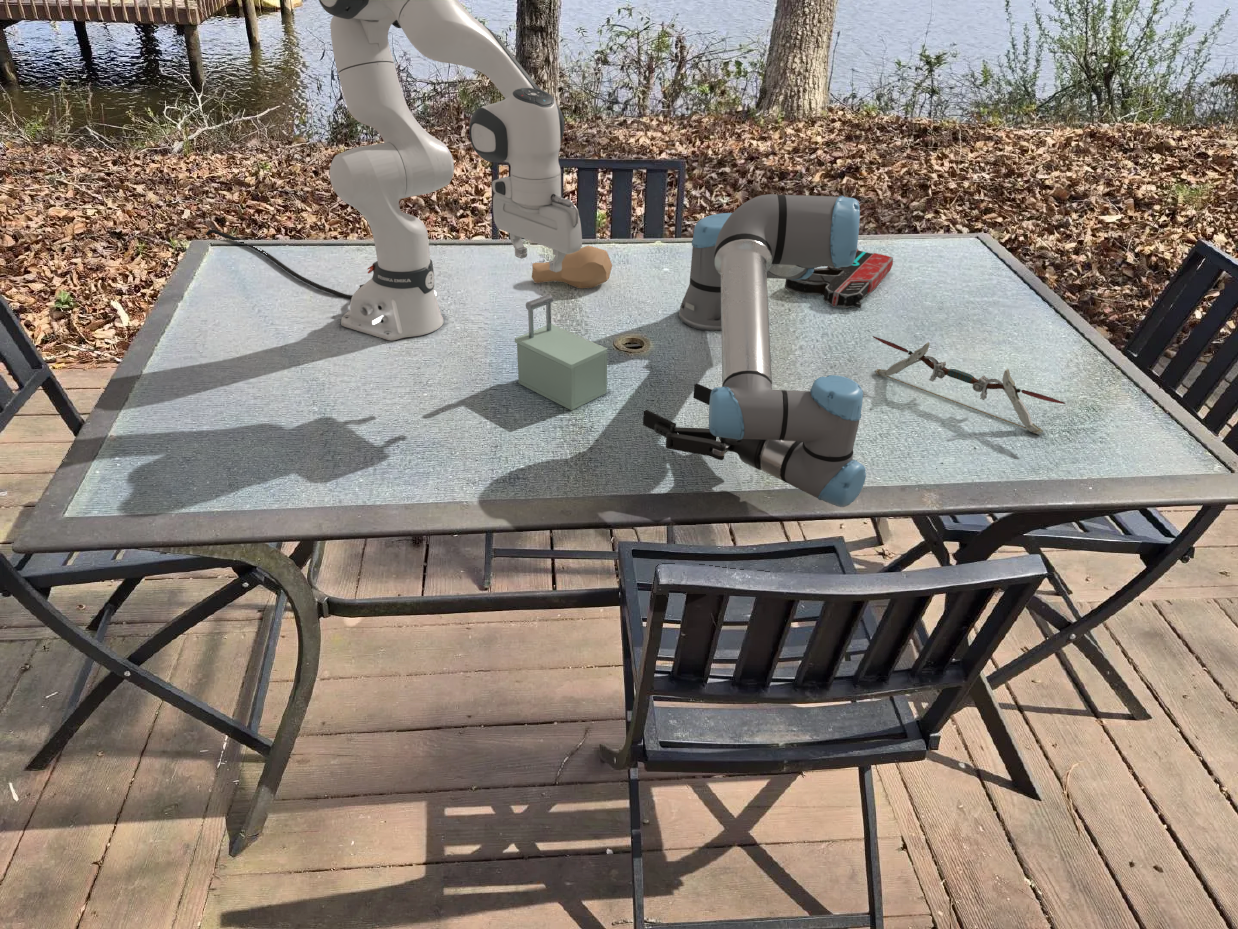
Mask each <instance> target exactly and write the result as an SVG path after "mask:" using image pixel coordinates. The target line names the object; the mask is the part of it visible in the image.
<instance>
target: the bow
mask: <svg viewBox="0 0 1238 929" xmlns="http://www.w3.org/2000/svg"><path fill="white" fill-rule="evenodd" d="M872 338H873V339H874V340H877V341H879V342H880V343H882V344H884V345H886V346H889V347H890V348H893V349H895V350H897V351H898V350H899V351H901V352H904V353H906V354H908V355H909V356H908V357H907V358H904V359H903V358H902V359H901V360H900V361H897V362H896V363H893V364H892V365H891V366H889V367H888V369H881V368H876V369H875V370H874V373H875V374H876V375H878V376H879V377H882V378H883V377H884V378H885V377H886V378H889V379H890V380H891V379H892V380H894V381H896V382H899V383H902V384H905V385H907V386H910V387H912V388H916V389H919V390H921V391H923V392H927V393H929V394H932V395H934V396H937V397H939V398H943V399H945V400H949V401H950V402H952V403H953V402H954V403H956V404H959V405H961V406H964V407H967V408H969V409H973V410H974V411H978V412H980V413H983V414H985V415H988V416H991V417H993V418H996V419H999V420H1002V421H1005V422H1007V423H1010V424H1012V425H1015V426H1017V427H1021V428H1023V429H1026V430H1027V431H1028V432H1030V433H1033V434H1034V435H1035V434H1037V435H1042V433H1044V429H1042V427H1039V426H1038V425H1036V424H1035V423H1034V422H1033V421H1032V418H1031V415H1030V412H1029V410H1028V409H1027V407H1026V405H1025V404H1024V402H1023V400H1022V399H1021V398H1020V395H1019V393H1020V392H1021V394H1024V395H1027V396H1030V397H1032V398H1035V399H1039V400H1043V401H1047V402H1050V403H1056V404H1062V405H1065V404H1066V402H1065V401H1061V400H1059V399H1056V398H1054V397H1050V396H1047V395H1045V394H1041V393H1037V392H1033V391H1030V390H1026V389H1021V388H1017V387H1016V383H1015V381H1014V380H1013V378H1012V377H1011V373H1010V372H1011V371H1010V369H1008V368H1006V369H1005V370H1004V371H1003V376H1002V379H1001V380H999V379H997V378H988V377H987V376H986V375H982V376H981V377H980V378H976V377H975V376H973V375H972V374H970V373H968V372H965V371H963V370H959V369H957V368H947V367H946V366H947V362H946V361H940V362H939V361H938V359H936V358H935V357H933V356H931V355H926V354H927V353H928V351H929V348H930V344H931V343H930V342H929V341H928V342H925V344H924V345H923V346H922V347H920V348H917V349H916V350H915V351H914V352H913V351H911V350H908V349H907V348H905V347H903V346H901V345H898V344H896V343H894V342H891V341H889V340H887V339H883V338H881V337H877V336H874V335H872ZM918 362H923V363H924V364H925V365H926V366H927V367H929V368H930V369H931V370H932V374H931V375H930V378H928V381H930V382H932V383H934V381H936V379H937V378H938V379H940V380H941V379H942V380H943V378H945V376H947V377H950V378H952V379H956V380H959V381H962V382H964V383H967V384H970V385H972V390H973V391H974V392H977V393H980V394H979V395H980V398H979V400H982V401H985V400H986V399H987V396H988V390H1003V391H1004V393H1005V394H1006V396H1007V398H1008V399H1009V401H1010V402H1011V404H1012V407H1013V410H1014V411H1015V413H1016V414H1017V416H1018V419H1019V421H1020V423H1021V424H1022V425H1020V424H1018V423H1015V422H1013V421H1010V420H1007V419H1004V418H1001V417H999V416H996V415H993V414H991V413H988V412H986V411H983V410H980V409H977V408H975V407H972V406H970V405H967V404H964V403H961V402H959V401H956V400H953V399H950V398H948V397H946V396H943V395H940V394H937V393H934V392H932V391H929V390H926V389H923V388H921V387H918V386H917V385H916V386H915V385H913V384H911V383H907V382H904V381H902V380H899V379H898V378H897V379H896V378H894V377H891V376H892V375H894V374H895V375H896V374H899V373H900V372H901V371H903V370H905V369H906V368H908V367H910V366H912V365H914V364H916V363H918Z"/></svg>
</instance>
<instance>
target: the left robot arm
mask: <svg viewBox="0 0 1238 929" xmlns="http://www.w3.org/2000/svg"><path fill="white" fill-rule="evenodd" d="M318 2H319V5H320V6H321V7H322V9H323V10H324V11H325V12H326V13H328V14H329V15H331V16H332V17H331V20H330V24H329V26H330V29H329V30H330V39H331V47H332V53H333V57H334V63H335V67H336V71H337V74H338V78H339V82H340V86H341V90H342V93H343V97H344V100H345V104H346V108H347V110H348V112H349V115H350V116H351V117H352V118H353V119H355V121H357V122H358V123H360V124H362V125H364V126H367V127H370V128H373V130H375V132H377V133H378V134H379V135H380V137H381V138H382V140H383V143H374V144H368V145H362V146H361V145H360V146H355V147H352V148H350V149H348V150H345V151H343V152H340V153H338V154H336V155H335V156H333V158H332V161H331V162H330V166H329V182H330V185H331V187H332V189H333V191H334V193H335V194H336V196H337V197H338V198H339V199H340V200H341V201H342V202H344V203H346V204H347V205H349V206H351V207H353V208H354V209H355V210H357V211H358V212H359V213H360V214H361V215H362V216H363V218H364V220H366V222H367V224H368V226H369V228H370V230H371V234H372V238H373V239H372V240H373V243H374V248H375V253H376V254H375V255H376V261H374V262H373V263H372V265H371V266H369V267H368V268H367V274H370V273H372V277H371V278H370V279H369V280H367V282H365V283H363V284H360V285H359V288H358V289H356V290H355V292H354V293H353V294H346V293H343V292H340V291H338V290H335V289H332V288H330V287H326V286H323V285H321V284H318V283H316V282H314V281H312V280H311V279H308V278H306V277H304V276H303V275H301V274H299V273H297V272H296V271H294V270H293V269H291V268H289V267H288V266H287V265H285V264H284V263H282V262H281V261H280V260H278V259H277V258H275V257H274V256H272V254H270V253H269V252H267V251H265V250H264V249H262V251H260V250H258V249H257V248H255V247H253V246H251V245H247V244H243V246H246V247H248V248H250V249H253V250H255V251H256V252H258V253H260V254H261V255H263V256H265V257H266V258H268V259H269V260H271V261H272V262H273V263H275V265H277V266H279V267H280V268H281V269H283V270H284V271H285V272H286V273H288V274H290V276H293V277H294V278H296V279H298V280H300V281H301V282H303V283H305V284H308V285H309V286H311V287H313V288H315V289H318V290H320V291H323V292H326V293H329V294H332V295H334V296H337V297H339V298H343V299H348V300H350V305H349V310H347V311H346V313H344V314H343V316H342V317H341V320H340V324H341V326H342V327H344V328H347V329H350V330H354V331H357V332H360V333H364V334H367V335H370V336H373V337H377V338H380V339H383V340H387V341H396V340H397V341H398V340H401V339H404V338H412V337H420V336H423V335H427V334H430V333H431V334H432V333H434V332H436V331H437V330H439V329H441V327H442V326H443V325H444V323H445V320H444V317H443V314H442V312H441V310H440V307H439V303H438V300H437V291H436V290H435V271H434V264H433V260H432V259H431V253H430V243H429V232H428V229H427V226H426V225H425V223H424V222H423V221H422V220H421V219H420V218H419V217H417V216H415V215H412V214H409V213H407V212H404V211H402V210H401V207H400V200H402V199H406V198H412V197H417V196H418V197H419V196H423V195H428V194H432V193H434V192H436V191H439V190H441V189H443V188H445V187H448V186H449V185H450V183H451V182H452V180H453V177H454V173H455V162H454V158H453V154H452V153H451V151H450V149H449V148H448V146H447V145H446V144H445V143H444V142H443V141H442V140H440V139H438V138H436V136H433V135H432V134H430V133H429V132H428V131H427V130H426V129H425V128H423V126H421V124H420V123H419V122H418V121H417V119H416V118H415V117H414V115H413V114H412V111H411V110H410V108H409V106H408V104H407V101H406V99H405V96H404V93H403V90H402V89H403V88H402V86H401V83H400V80H399V76H398V71H397V69H396V64H395V60H394V58H393V54H392V51H391V48H390V44H389V43H390V42H389V31H390V28H391V26H393V27H394V28H397V29H401V30H402V32H403V33H404V35H405V36H406V38H407V40H408V41H409V43H411V45H412V46H413V47H414V48H415V49H416V51H418V52H419V53H420V54H421V55H422V56H424V57H425V58H427V59H430V60H432V61H435V62H438V63H439V62H440V63H444V64H451V65H457V66H461V67H466V68H468V69H472V70H475V71H477V72H479V73H481V74H483V75H484V76H485V77H487V78H488V79H489V80H490V81H491V83H492V84H493V85H494V86H495V87H496V89H497V90H498V91H499V93H500V94H501V95H502V96H503V97H504V99H502V100H500V101H497V102H493V103H490V104H486V105H483V106H481V107H478V108H476V109H475V110H474V112H473V113H472V116H471V118H470V121H469V128H468V129H469V130H468V132H469V139H470V140H469V141H470V144H471V146H472V148H473V150H474V151H475V153H476V154H477V155H478V156H479V158H481V159H482V160H484V161H485V162H488V163H489V162H490V163H501V162H505V163H508V164H509V166H510V173H509V175H508V176H503V177H501V178H497V179H494V180H492V181H491V189H492V191H493V193H494V194H493V197H492V212H493V222H494V224H495V226H496V228H497V229H498V230H500V231H503V232H506V233H508V234H509V240H510V242H511V243H512V246H513V248H514V256H515V257H516V258H519V259H525V258H527V256H528V247H525V245H524V241H523V240H527V241H530V242H532V243H535V244H538V245H540V246H543V247H546V248H548V249H551V250H552V255H554V256H553V259H552V260H550V261H548V262H549V265H550V267H549V269H550V270H551V271H554V272H559V271H561V270H562V261H563V259H564V257H565V255H566V254H571V253H574V252H577V251H579V250H580V248H582V247H583V234H582V224H581V218H580V217H581V216H580V214H579V209H578V208H577V206H576V205H575V204H574V201H572V199H569V198H564V197H562V174H561V173H562V169H561V166H560V162H559V154H560V151H561V143H562V140H563V137H564V134H565V118H564V115H563V112H562V110H561V108H560V106H559V105H558V103H557V101H556V99H555V97H554V96H552V94H550V93H549V92H547V91H545V90H543V89H541V88H540V87H539V86H538V85H537V83H535V81H534V80H533V79H532V77H531V76H530V75H529V74H528V73H527V70H525V69H524V67H523V66H522V65H521V64H520V63H519V61H518V60H517V58H515V56H514V55H513V54H512V53H511V50H509V49H508V48H507V46H506V45H505V44H504V42H503V41H502V40H501V39H500V38H499V37H498V36H497V34H496V33H495V32H494V31H492V30H491V29H490V28H488V27H487V26H486V25H484V24H482V23H481V22H480V21H479V20H477V19H476V18H475V17H474V16H473V15H472V14H471V13H470V11H468V10H467V9H466V8H465V6H463V5H462V3H461V2H460V1H459V0H318ZM211 234H215V235H218V236H219V237H222V238H225V239H228V240H231V241H234V240H243V239H241V238H239V237H236V236H234V235H230V234H227V233H224V232H222V231H220V230H217V229H209V230H207V231H206V232H205V236H210V235H211ZM238 243H239V244H242V243H244V242H238ZM263 252H265V253H266V252H267V253H266V254H267V255H266V254H265V253H263Z"/></svg>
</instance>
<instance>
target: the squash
mask: <svg viewBox="0 0 1238 929" xmlns="http://www.w3.org/2000/svg"><path fill="white" fill-rule="evenodd" d="M549 262H550V261H546V262H533V263H532V264H531V266H532V269H531V270H532V271H531V279H532V281H533V282H534V283H535V284H539V283H546V282H548V283H549V282H560V283H565V284H568V285H569V286H571V287H574V288H577V289H594V288H596V287H597V286H600V285H602V284H603V283H605V282H607V281H608V280H609V278H610V277H611V276H610V275H611V272H612V268H613V264H612V261H611V258H610V256H609V253H608V251H607V250H605V249H602V248H599V247H596V246H591V245H585V246H582V247H581V248H580V250H579V251H577V252H574V253H571V254H566V255H565V257H564V259H563V261H562V270H561V271H559V272H554V271H551V270H550V269H549V267H550V265H549Z"/></svg>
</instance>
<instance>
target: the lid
mask: <svg viewBox="0 0 1238 929" xmlns="http://www.w3.org/2000/svg"><path fill="white" fill-rule="evenodd" d="M553 302H554V297H553V296H552V295H551V294H550V293H549V294H546V295H543V296H540V297H538V298H535V299H532V300H530V301H527V302H526V303H525V309H526V310H527V314H528V316H527V317H528V319H527V320H528V332H527V333H524V334H522V335H519V336H516V337H514V343H515V344H516V345H517V344H519V345H522V346H524V347H526V348H528V349H530V350H532V351H534V352H536V353H538V354H541V355H543V356H545V357H547V358H549V359H551V360H553V361H555V362H557V363H560V364H562V365H564V366H566V367H568V368H570V369H572V368H574V367H577V366H579V365H581V364H583V363H585V362H588V361H590V360H592V359H594V358H596V357H599V356H601V355H603V354H605V353H607V354H608V348H607V347H605V346H603V345H601V344H598V343H597V342H593V341H591V340H589V339H587V338H585V337H582V336H580V335H578V334H575V333H573V332H571V331H569V330H566V329H564V328H562V327H560V326H558V325H555V324H553V323H552V306H551V304H552V303H553ZM544 306H545V320H546V321H545V323H546V325H545V326H542V327H539V328H537V329H534V310H536V309H538V308H539V309H540V308H542V307H544Z"/></svg>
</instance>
